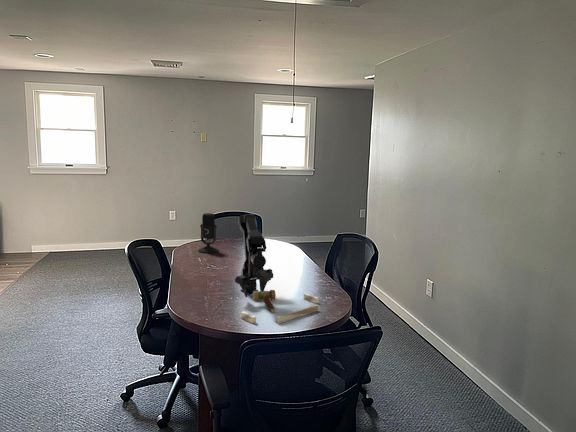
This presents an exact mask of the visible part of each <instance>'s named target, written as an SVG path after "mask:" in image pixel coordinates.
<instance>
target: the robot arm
mask: <svg viewBox="0 0 576 432" xmlns="http://www.w3.org/2000/svg"><path fill="white" fill-rule="evenodd" d="M237 225H238V226H239V227H238V228H239V230H240V232H241V233H242V240H243V248H244V249H243V251H244V260H245V261H244V262H243V265H242V268H241V271H240V274H239V275H237V276H235V279H234V282H235V283H236V284H238V285H239V286H240V288H241V289H240V292H243V294H244V296H245V298H248V296H249V294H253V291H258V292H260V291H265V288H266V287H267V284H268V283H269V281H272V279H274V272H273V270H272V268H268V269H264V266H266V263H267V258H266V257H265V256H264V255H263V253H264V252H267V251H266V249H267V243H266V239H265V237H264V236H263V234H262V232H260V231H259V230H258V226H257V217H256V216H255V214H253V213H248V214H247V213H246V214H243V215H240V216H238V218H237ZM257 280H258V281H259V282H258V283H259V290H258V289H257V285H258V284H257Z"/></svg>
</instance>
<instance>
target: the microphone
mask: <svg viewBox="0 0 576 432" xmlns="http://www.w3.org/2000/svg"><path fill="white" fill-rule="evenodd" d="M215 220H216V219H215V213H211V212H209V213H207V212H206V213H205V212H204V213H202V219H201V221H202V223H200V225H199V226H200V241H201V242H202V243H203V244H204V245H206V246H203V247H200V248H198V249H197V252H198V253H200V254H216V253H218V252H219V248H217V247H213V246H211V245H212V244H214V243H215V242H216V240H217V225H216V223H215ZM206 240H213V241H212V242H210V241H209V242H208V241H206Z"/></svg>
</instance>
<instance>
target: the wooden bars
mask: <svg viewBox="0 0 576 432" xmlns="http://www.w3.org/2000/svg"><path fill="white" fill-rule="evenodd" d="M303 300H305V301H307V302H310V303H314V304H312V305H308V306H306V307H303V308H299V309H296V310H293V311H289V312H287V313H282V314H280V315H277V316H275V321H274V322H275V324H277V325H278V324H281V323H284V322H287V321H291V320H293V319H297V318H299V317H303V316H305V315H309V314H312V313H315V312H317V311H319V305H318V304H319V301H320V299H319V297H318V296H315V295H312V294H308V293H303ZM240 319H242V320H245V321H247V322H249V323H250V324H256V323H257V316H255V315H254V314H251V313H248V312H246V311H244V310H243V311H240Z"/></svg>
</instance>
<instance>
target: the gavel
mask: <svg viewBox="0 0 576 432" xmlns="http://www.w3.org/2000/svg"><path fill="white" fill-rule="evenodd" d="M276 298H277V295H276V291H275V290H274V289H270V290H264V291H260V290H259V291H253V293H252V300H253V302H255V301H256V302H257V301H263V302H264V304H265V306H266V307H267V309H268V311H269V312H270V311H271V312H270V313H275V306H274V304H273V303H272V300H273V301H274V300H276Z"/></svg>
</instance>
